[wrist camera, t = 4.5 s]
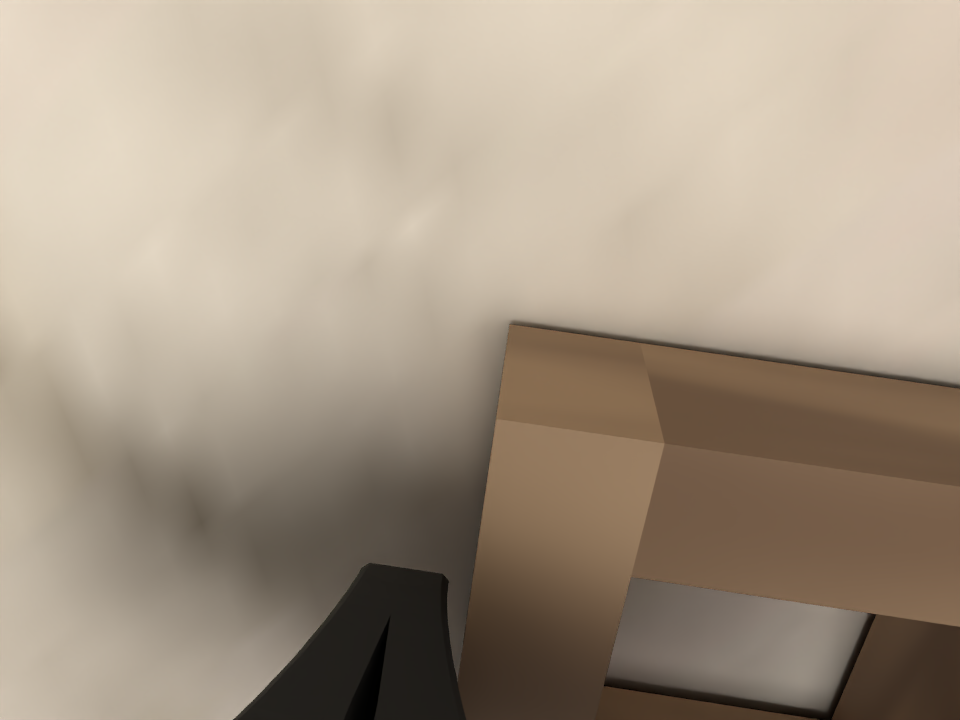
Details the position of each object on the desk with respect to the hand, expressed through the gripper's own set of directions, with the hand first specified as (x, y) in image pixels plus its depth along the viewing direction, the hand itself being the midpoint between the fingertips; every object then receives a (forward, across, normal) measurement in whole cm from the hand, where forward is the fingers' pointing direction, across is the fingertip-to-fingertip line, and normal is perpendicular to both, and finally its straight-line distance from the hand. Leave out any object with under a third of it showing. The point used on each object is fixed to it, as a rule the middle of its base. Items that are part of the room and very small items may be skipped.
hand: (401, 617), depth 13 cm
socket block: (+2, -6, 0) cm, 6 cm away
